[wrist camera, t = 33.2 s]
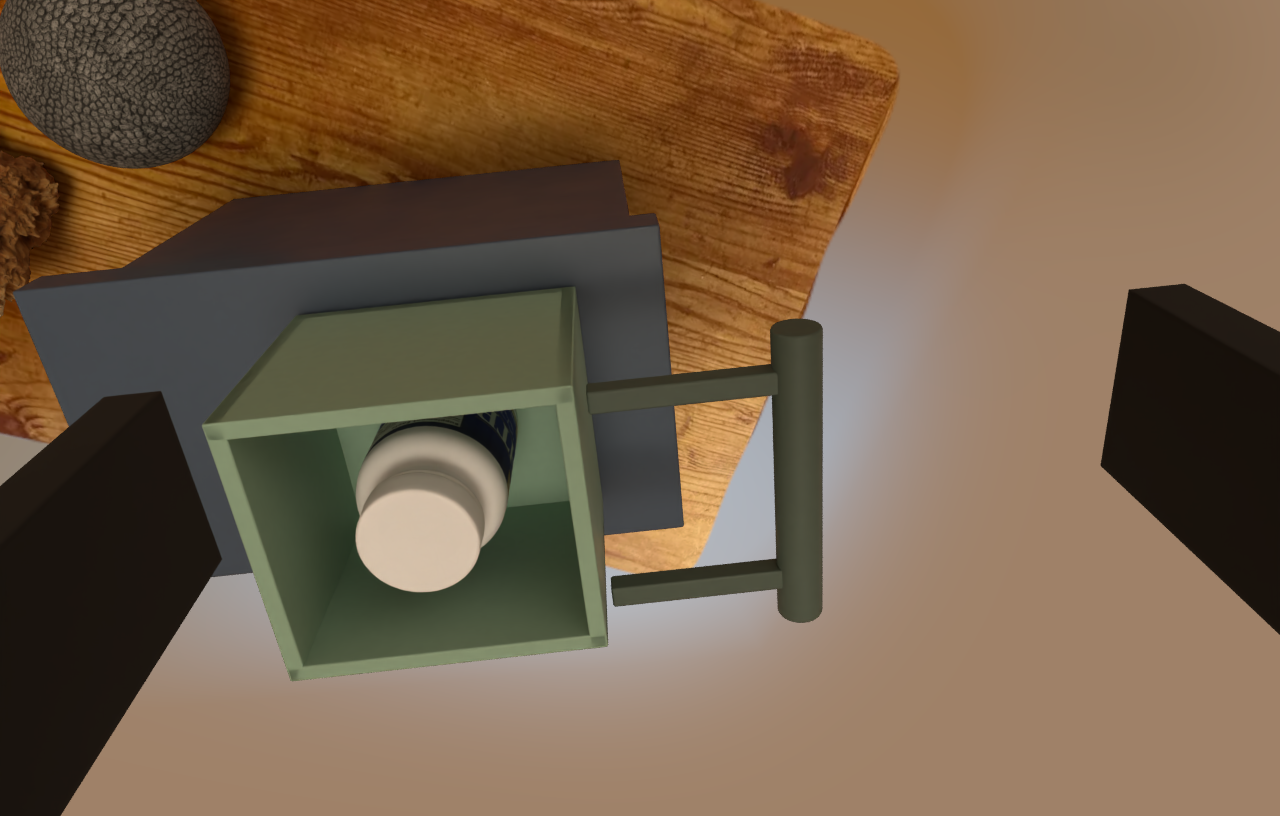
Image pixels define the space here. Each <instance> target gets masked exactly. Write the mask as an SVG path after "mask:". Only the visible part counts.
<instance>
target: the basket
mask: <svg viewBox="0 0 1280 816" xmlns="http://www.w3.org/2000/svg"><path fill="white" fill-rule="evenodd" d="M770 341H771V364H767V365H758V366H748V367H739V368H730V369H720V370H711V371H701V372H692V373H682V374H673V375H664V376H654V377H645V378H635V379H626V380H617V381H607V382H598V383H589V384H588V381H587V373H586V365H585V357H584V350H583V342H582V334H581V326H580V318H579V310H578V303H577V295H576V288H575V287H574V286H573V287H564V288H554V289H545V290H535V291H525V292H516V293H506V294H497V295H487V296H478V297H468V298H459V299H449V300H440V301H430V302H420V303H411V304H401V305H392V306H382V307H373V308H363V309H354V310H344V311H335V312H325V313H316V314H306V315H297V316H295V317H294V319H293V320H292V321H291V322H290V323H289V324H288V326H287V327H286V328H285V329H284V330H283V331H282V332H281V334H280V335H279V336H278V337H277V338H276V339H275V341H274V342H273V343H272V344H271V345H270V346H269V348H268V349H267V350H266V351H265V352H264V353H263V355H262V356H261V357H260V358H259V359H258V360H257V361H256V363H255V364H254V365H253V366H252V367H251V368H250V370H249V371H248V372H247V373H246V374H245V375H244V377H243V378H242V379H241V380H240V381H239V382H238V384H237V385H236V386H235V387H234V388H233V389H232V391H231V392H230V393H229V394H228V395H227V396H226V397H225V399H224V400H223V401H222V402H221V403H220V404H219V406H218V407H217V408H216V409H215V410H214V411H213V413H212V414H211V415H210V416H209V417H208V418H207V420H206V421H205V422H204V423H203V424H202V428H203V430H204V433H205V436H206V439H207V441H208V444H209V447H210V450H211V453H212V456H213V459H214V461H215V464H216V467H217V470H218V473H219V476H220V479H221V482H222V484H223V487H224V490H225V493H226V496H227V499H228V502H229V505H230V507H231V510H232V513H233V516H234V519H235V522H236V525H237V528H238V530H239V533H240V536H241V539H242V542H243V545H244V548H245V551H246V553H247V556H248V559H249V562H250V565H251V568H252V571H253V573H254V576H255V579H256V582H257V585H258V588H259V591H260V594H261V596H262V599H263V602H264V605H265V608H266V611H267V614H268V617H269V619H270V622H271V625H272V628H273V631H274V634H275V637H276V640H277V643H278V645H279V648H280V651H281V654H282V657H283V660H284V663H285V666H286V668H287V671H288V674H289V677H290V680H291V681H299V680H308V679H316V678H326V677H335V676H345V675H354V674H363V673H372V672H381V671H389V670H399V669H407V668H417V667H425V666H436V665H445V664H453V663H463V662H472V661H481V660H490V659H499V658H507V657H518V656H527V655H536V654H544V653H554V652H563V651H572V650H582V649H591V648H600V647H607V646H608V628H607V601H606V573H605V545H604V518H603V498H602V490H601V482H600V475H599V467H598V459H597V451H596V443H595V436H594V428H593V420H592V415H593V414H602V413H611V412H621V411H630V410H640V409H649V408H658V407H668V406H677V405H686V404H696V403H705V402H715V401H724V400H733V399H743V398H752V397H761V396H771V395H772V415H773V451H774V489H775V525H776V559H769V560H759V561H750V562H741V563H732V564H723V565H713V566H704V567H695V568H686V569H676V570H667V571H658V572H649V573H640V574H630V575H622V576H613V577H611V590H612V598H613V605H614V606H615V607H616V606H626V605H634V604H643V603H653V602H662V601H672V600H681V599H690V598H699V597H708V596H717V595H727V594H736V593H745V592H754V591H763V590H771V589H777V599H778V611H779V613H780V614H781V615H782V616H783V617H784V618H785V619H787V620H789V621H792V622H797V623H805V622H810V621H813V620H814V619H816V618H818V617H819V615H820V614H821V612H822V460H823V459H822V456H823V455H822V453H823V451H822V449H823V448H822V447H823V444H822V443H823V442H822V441H823V439H822V438H823V435H822V434H823V429H822V428H823V422H822V421H823V419H822V417H823V416H822V415H823V410H822V408H823V396H822V395H823V391H822V390H823V388H822V387H823V385H822V384H823V382H822V381H823V380H822V379H823V361H822V360H823V353H822V352H823V328H822V326H821V324H819V323H818V322H816V321H813V320H808V319H788V320H783V321H780V322H777V323H775V324H774V325H772V327H771V329H770ZM513 409H515V411H516V415H517V420H518V435H517V443H516V450H515V457H514V465H513V472H512V478H511V484H510V489H509V496H508V503H507V507H506V511H505V515H504V518H503V520H502V523H501V525H500V527H499V529H498V530H497V532H496V533H495V535H494V536H493V537H492V538H491V539H490V540H489V541H488V542H487V543H486V544H485V545H484V546H483V547H481V548H480V553H479V556H478V559H477V561H476V563H475V565H474V567H473V568H472V569H471V571H470V572H469V573H468V574H467V575H466V576H465V577H464V578H463V579H461V580H460V581H459V582H457V583H456V584H454V585H452V586H450V587H447V588H445V589H441V590H438V591H433V592H411V591H405V590H401V589H398V588H395V587H393V586H390V585H388V584H386V583H385V582H383V581H381V580H380V579H378V578H377V577H376V576H375V575H373V574H372V573H371V572H370V571H369V569H368V568H367V567H366V566H365V565H364V563H363V561H362V560H361V558H360V556H359V553H358V551H357V546H356V537H355V536H356V527H357V523H358V520H359V517H360V515H359V512H358V508H357V503H356V485H357V478H358V474H359V471H360V469H361V466H362V463H363V461H364V459H365V457H366V455H367V453H368V451H369V449H370V447H371V444H372V443H373V440H374V438H375V436H376V434H377V432H378V430H379V428H380V426H381V423H391V422H400V421H409V420H419V419H428V418H438V417H447V416H456V415H466V414H475V413H485V412H494V411H503V410H513Z"/></svg>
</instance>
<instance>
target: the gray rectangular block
mask: <svg viewBox="0 0 1280 816" xmlns="http://www.w3.org/2000/svg"><path fill="white" fill-rule="evenodd" d="M573 286H574V287H575V288H576V295H577V303H578V310H579V318H580V326H581V334H582V342H583V350H584V357H585V365H586V373H587V381H588V384H589V383H598V382H607V381H617V380H626V379H635V378H645V377H654V376H664V375H672V374H671V362H670V349H669V337H668V325H667V313H666V300H665V288H664V276H663V264H662V251H661V239H660V227H659V223H658V220H657V217H656V214H654V213H652V214H642V215H633V216H629V212H628V206H627V200H626V195H625V189H624V184H623V178H622V173H621V167H620V162H619V160H611V161H602V162H592V163H582V164H572V165H563V166H553V167H543V168H533V169H524V170H514V171H504V172H494V173H485V174H475V175H465V176H455V177H446V178H436V179H426V180H416V181H407V182H397V183H387V184H377V185H368V186H358V187H348V188H339V189H329V190H319V191H309V192H300V193H290V194H280V195H270V196H261V197H251V198H241V199H233V200H232V201H230V202H228V203H227V204H225V205H223V206H222V207H220V208H219V209H217V210H215V211H214V212H212V213H210V214H209V215H207V216H206V217H204V218H202V219H201V220H199V221H197V222H196V223H194V224H193V225H191V226H189V227H188V228H186V229H185V230H183V231H181V232H180V233H178V234H176V235H175V236H173V237H172V238H170V239H168V240H167V241H165V242H163V243H162V244H160V245H159V246H157V247H155V248H154V249H152V250H151V251H149V252H147V253H146V254H144V255H142V256H141V257H139V258H138V259H136V260H134V261H133V262H131V263H129V264H128V265H126V266H125V267H123V268H119V269H109V270H100V271H90V272H80V273H71V274H61V275H51V276H42V277H39V278H37V279H36V280H34V281H32V282H30V283H28V284H26V285H24V286H23V287H21V288H19V289H17V290H15V291H13V295H14V298H15V300H16V302H17V305H18V307H19V309H20V312H21V314H22V316H23V319H24V321H25V324H26V326H27V328H28V331H29V333H30V335H31V338H32V340H33V342H34V345H35V347H36V350H37V352H38V354H39V357H40V359H41V361H42V364H43V366H44V369H45V371H46V373H47V376H48V378H49V380H50V383H51V385H52V387H53V390H54V392H55V395H56V397H57V399H58V402H59V404H60V406H61V409H62V411H63V413H64V416H65V418H66V421H67V423H68V425H69V427H70V426H71V425H72V424H73V423H74V422H75V421H76V420H78V419H79V418H80V417H81V416H82V415H83V414H85V413H86V412H87V411H88V410H89V409H90V408H92V407H93V406H94V405H95V404H96V403H97V402H99V401H100V400H101V399H102V398H103V397H107V396H117V395H126V394H136V393H145V392H155V391H161V392H162V395H163V398H164V400H165V403H166V406H167V409H168V411H169V414H170V417H171V420H172V422H173V425H174V428H175V431H176V433H177V436H178V439H179V442H180V444H181V447H182V450H183V453H184V455H185V458H186V461H187V464H188V466H189V469H190V472H191V475H192V477H193V480H194V483H195V486H196V488H197V491H198V494H199V497H200V499H201V502H202V505H203V508H204V510H205V513H206V516H207V519H208V521H209V524H210V527H211V530H212V532H213V535H214V538H215V541H216V543H217V546H218V549H219V552H220V554H221V557H222V560H221V562H220V564H219V565H218V567H217V568H216V570H215V571H214V573H213V575H212V576H211V577H217V576H226V575H236V574H246V573H253V571H252V568H251V565H250V562H249V559H248V556H247V553H246V551H245V548H244V545H243V542H242V539H241V536H240V533H239V530H238V528H237V525H236V522H235V519H234V516H233V513H232V510H231V507H230V505H229V502H228V499H227V496H226V493H225V490H224V487H223V484H222V482H221V479H220V476H219V473H218V470H217V467H216V464H215V461H214V459H213V456H212V453H211V450H210V447H209V444H208V441H207V439H206V436H205V433H204V430H203V428H202V424H203V423H204V422H205V421H206V420H207V418H208V417H209V416H210V415H211V414H212V413H213V411H214V410H215V409H216V408H217V407H218V406H219V404H220V403H221V402H222V401H223V400H224V399H225V397H226V396H227V395H228V394H229V393H230V392H231V391H232V389H233V388H234V387H235V386H236V385H237V384H238V382H239V381H240V380H241V379H242V378H243V377H244V375H245V374H246V373H247V372H248V371H249V370H250V368H251V367H252V366H253V365H254V364H255V363H256V361H257V360H258V359H259V358H260V357H261V356H262V355H263V353H264V352H265V351H266V350H267V349H268V348H269V346H270V345H271V344H272V343H273V342H274V341H275V339H276V338H277V337H278V336H279V335H280V334H281V332H282V331H283V330H284V329H285V328H286V327H287V326H288V324H289V323H290V322H291V321H292V320H293V319H294V317H295V316H297V315H306V314H316V313H325V312H335V311H344V310H354V309H363V308H373V307H382V306H392V305H401V304H411V303H420V302H430V301H440V300H449V299H459V298H468V297H478V296H487V295H497V294H506V293H516V292H525V291H535V290H545V289H554V288H564V287H573ZM592 420H593V428H594V436H595V443H596V451H597V459H598V467H599V475H600V482H601V490H602V498H603V518H604V535H611V534H621V533H630V532H640V531H649V530H658V529H668V528H677V527H683V525H684V521H683V509H682V496H681V484H680V472H679V460H678V447H677V435H676V423H675V411H674V406H668V407H658V408H649V409H640V410H630V411H621V412H611V413H602V414H593V415H592Z"/></svg>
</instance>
